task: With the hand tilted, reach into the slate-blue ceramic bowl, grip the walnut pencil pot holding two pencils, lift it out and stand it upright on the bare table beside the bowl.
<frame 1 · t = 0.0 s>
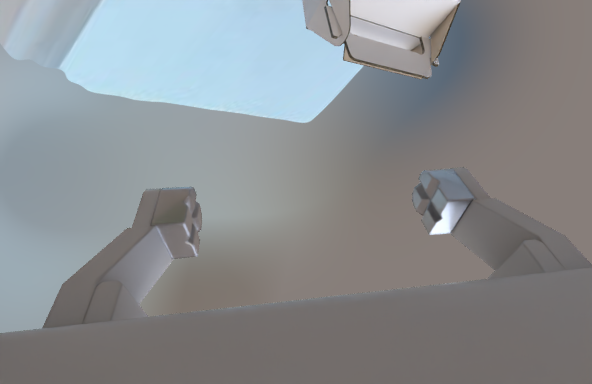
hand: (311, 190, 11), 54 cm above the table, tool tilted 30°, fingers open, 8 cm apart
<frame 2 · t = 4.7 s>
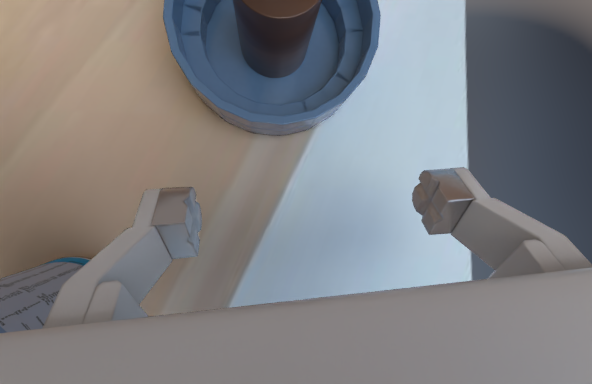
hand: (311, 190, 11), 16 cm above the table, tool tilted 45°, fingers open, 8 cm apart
bowl: (273, 48, 26), on the table
beverage bottle: (79, 303, 25), on the table
pencil pot: (273, 45, 25), point 1 cm above the table, touching bowl
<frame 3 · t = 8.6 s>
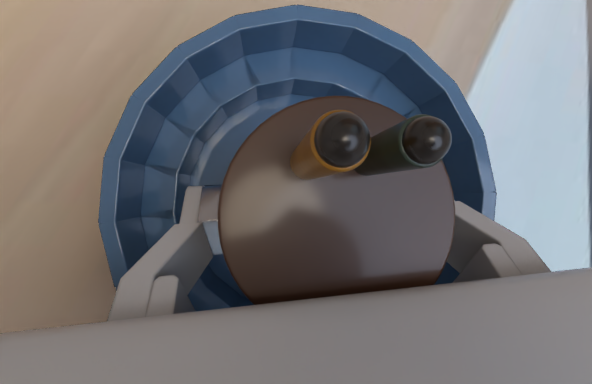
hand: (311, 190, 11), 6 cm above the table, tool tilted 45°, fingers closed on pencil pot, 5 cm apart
bowl: (297, 201, 16), on the table
pencil pot: (298, 201, 16), point 1 cm above the table, touching bowl, gripper
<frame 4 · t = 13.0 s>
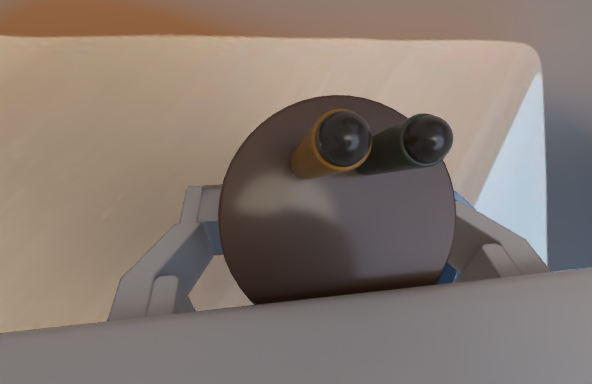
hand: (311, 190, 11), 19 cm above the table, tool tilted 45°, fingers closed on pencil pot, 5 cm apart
bowl: (389, 254, 31), on the table
pencil pot: (298, 201, 16), point 14 cm above the table, touching gripper
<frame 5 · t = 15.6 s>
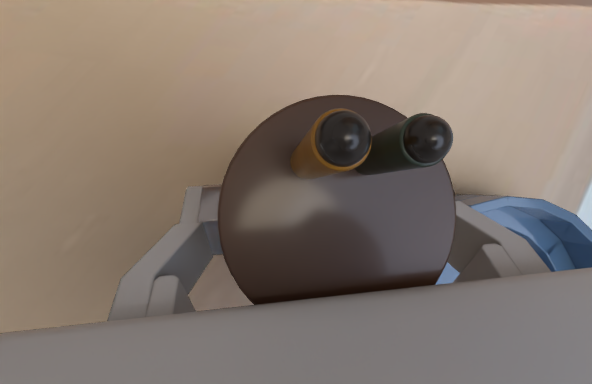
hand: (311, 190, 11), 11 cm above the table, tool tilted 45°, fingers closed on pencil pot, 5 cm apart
bowl: (460, 294, 23), on the table
pencil pot: (298, 201, 16), point 6 cm above the table, touching gripper
when the fingers open (5 cm above the table, at t = 17.7 s): pencil pot stays where it is, on the table.
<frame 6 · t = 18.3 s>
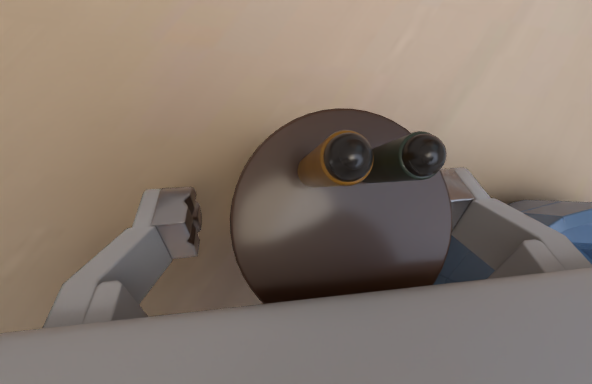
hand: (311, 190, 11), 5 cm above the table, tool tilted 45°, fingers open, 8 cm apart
bowl: (523, 329, 18), on the table
pencil pot: (301, 204, 16), on the table
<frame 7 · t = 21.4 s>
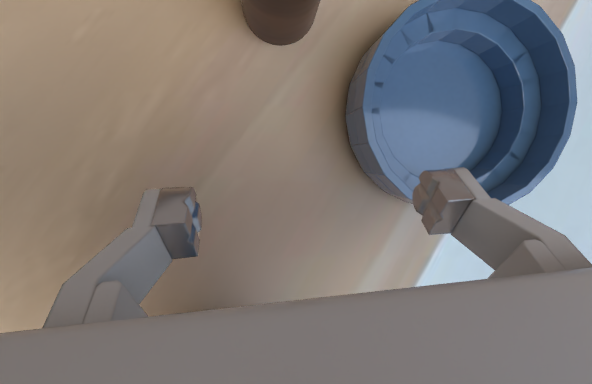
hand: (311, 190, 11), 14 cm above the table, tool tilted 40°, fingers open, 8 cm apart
bowl: (433, 114, 25), on the table
pencil pot: (279, 7, 23), on the table
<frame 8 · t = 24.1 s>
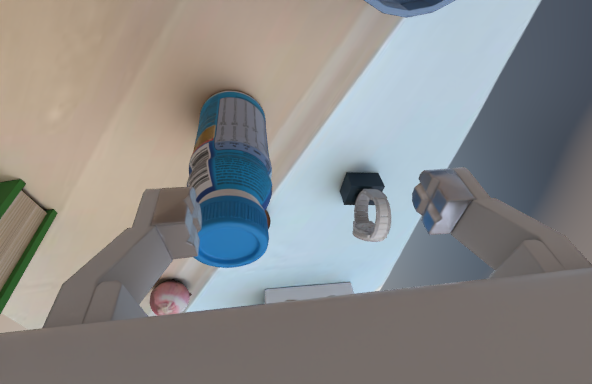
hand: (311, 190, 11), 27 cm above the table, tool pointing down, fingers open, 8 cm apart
watch: (358, 182, 50), on the table
onion: (172, 284, 66), on the table
beverage bottle: (233, 117, 39), on the table
gable box: (305, 296, 79), on the table
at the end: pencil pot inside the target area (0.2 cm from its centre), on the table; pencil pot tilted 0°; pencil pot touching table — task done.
